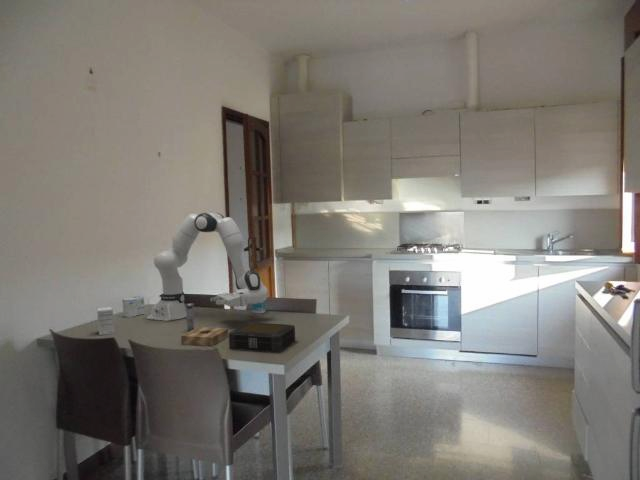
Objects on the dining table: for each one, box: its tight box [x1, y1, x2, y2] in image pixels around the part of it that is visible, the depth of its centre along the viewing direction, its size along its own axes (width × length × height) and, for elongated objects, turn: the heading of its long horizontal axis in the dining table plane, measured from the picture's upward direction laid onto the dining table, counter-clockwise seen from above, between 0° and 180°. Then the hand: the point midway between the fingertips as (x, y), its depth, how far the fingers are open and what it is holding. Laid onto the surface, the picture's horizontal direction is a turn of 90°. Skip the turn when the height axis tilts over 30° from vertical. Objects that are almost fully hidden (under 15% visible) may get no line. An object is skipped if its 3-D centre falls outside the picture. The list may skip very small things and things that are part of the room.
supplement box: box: [96, 306, 115, 336], centre depth 252 cm, size 7×7×13 cm
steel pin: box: [184, 302, 195, 333], centre depth 250 cm, size 4×4×14 cm
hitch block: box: [180, 326, 229, 347], centre depth 232 cm, size 16×16×4 cm
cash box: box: [228, 322, 296, 353], centre depth 222 cm, size 25×20×8 cm
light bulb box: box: [121, 295, 146, 318], centre depth 289 cm, size 11×7×11 cm, turn 144°
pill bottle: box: [251, 300, 266, 315], centre depth 287 cm, size 8×7×14 cm
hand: (213, 301), depth 255 cm, fingers open, 8 cm apart
